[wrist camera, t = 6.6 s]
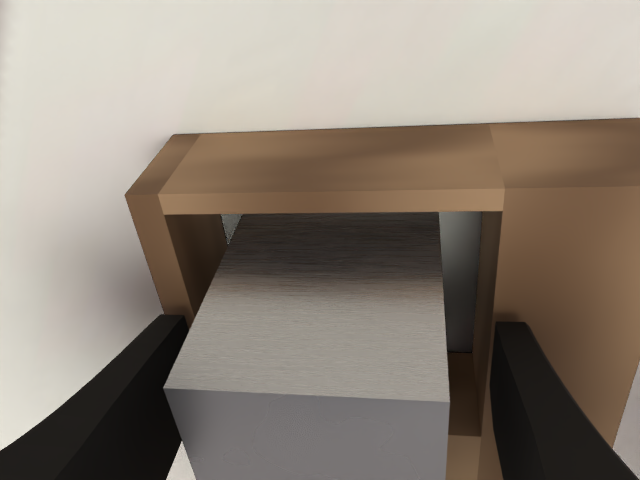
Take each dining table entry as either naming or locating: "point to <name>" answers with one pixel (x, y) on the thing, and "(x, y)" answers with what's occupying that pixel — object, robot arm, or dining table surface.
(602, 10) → the dining table surface
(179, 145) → the socket board
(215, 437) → the peg
